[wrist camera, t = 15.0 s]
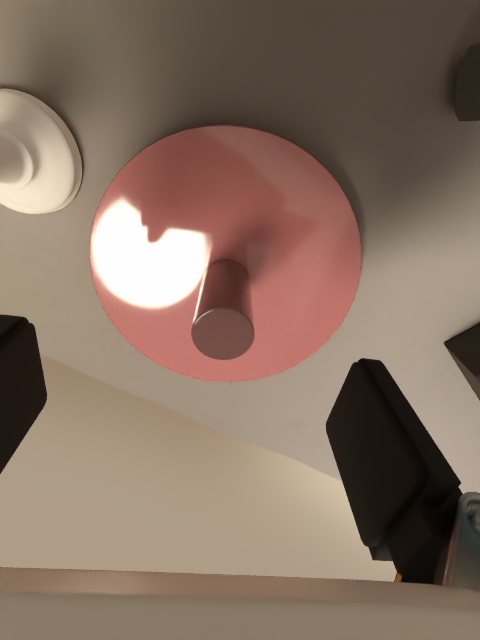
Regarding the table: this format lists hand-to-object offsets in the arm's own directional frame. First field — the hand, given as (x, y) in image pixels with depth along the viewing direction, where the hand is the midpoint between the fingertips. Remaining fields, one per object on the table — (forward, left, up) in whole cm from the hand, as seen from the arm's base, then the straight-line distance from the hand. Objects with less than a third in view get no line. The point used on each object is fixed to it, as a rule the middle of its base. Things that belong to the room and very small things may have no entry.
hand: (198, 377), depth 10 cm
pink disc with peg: (+1, 0, -8) cm, 8 cm away
